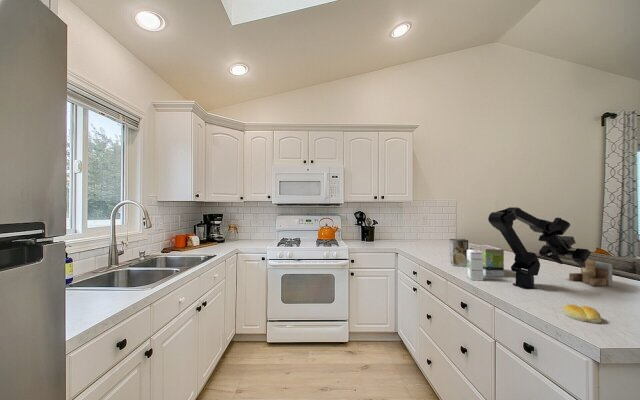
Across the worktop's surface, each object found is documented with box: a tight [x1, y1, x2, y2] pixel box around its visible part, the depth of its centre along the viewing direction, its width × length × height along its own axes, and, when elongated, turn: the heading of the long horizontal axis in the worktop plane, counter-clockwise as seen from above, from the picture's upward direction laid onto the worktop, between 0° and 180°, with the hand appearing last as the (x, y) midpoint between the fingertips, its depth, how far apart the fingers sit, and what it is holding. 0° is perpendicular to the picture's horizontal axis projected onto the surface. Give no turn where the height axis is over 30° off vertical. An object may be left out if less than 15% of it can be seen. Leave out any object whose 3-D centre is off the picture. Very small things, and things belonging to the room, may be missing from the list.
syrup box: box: [466, 249, 484, 282], centre depth 130 cm, size 6×6×14 cm
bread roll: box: [562, 304, 603, 324], centre depth 86 cm, size 8×9×4 cm
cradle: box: [568, 266, 609, 287], centre depth 123 cm, size 9×10×7 cm
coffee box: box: [449, 238, 470, 267], centre depth 158 cm, size 9×6×16 cm
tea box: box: [469, 244, 505, 278], centre depth 140 cm, size 15×10×15 cm
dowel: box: [581, 258, 596, 284], centre depth 123 cm, size 4×4×11 cm
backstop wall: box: [595, 260, 613, 287], centre depth 124 cm, size 2×10×10 cm, turn 7°
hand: (572, 265), depth 123 cm, fingers open, 9 cm apart
